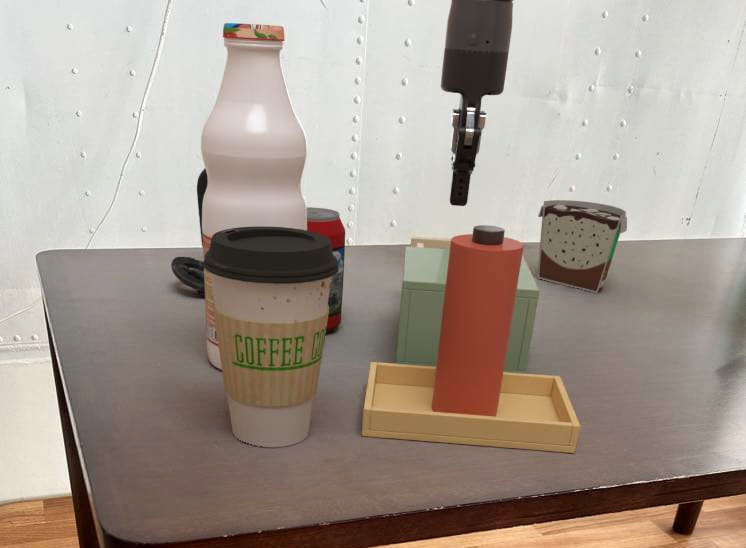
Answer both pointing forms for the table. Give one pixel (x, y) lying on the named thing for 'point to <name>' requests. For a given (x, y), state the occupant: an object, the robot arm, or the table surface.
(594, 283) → the food container
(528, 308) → the cabinet
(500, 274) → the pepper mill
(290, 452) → the table surface
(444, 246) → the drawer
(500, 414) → the tray
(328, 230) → the beverage can
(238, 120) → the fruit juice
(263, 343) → the coffee cup
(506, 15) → the robot arm
